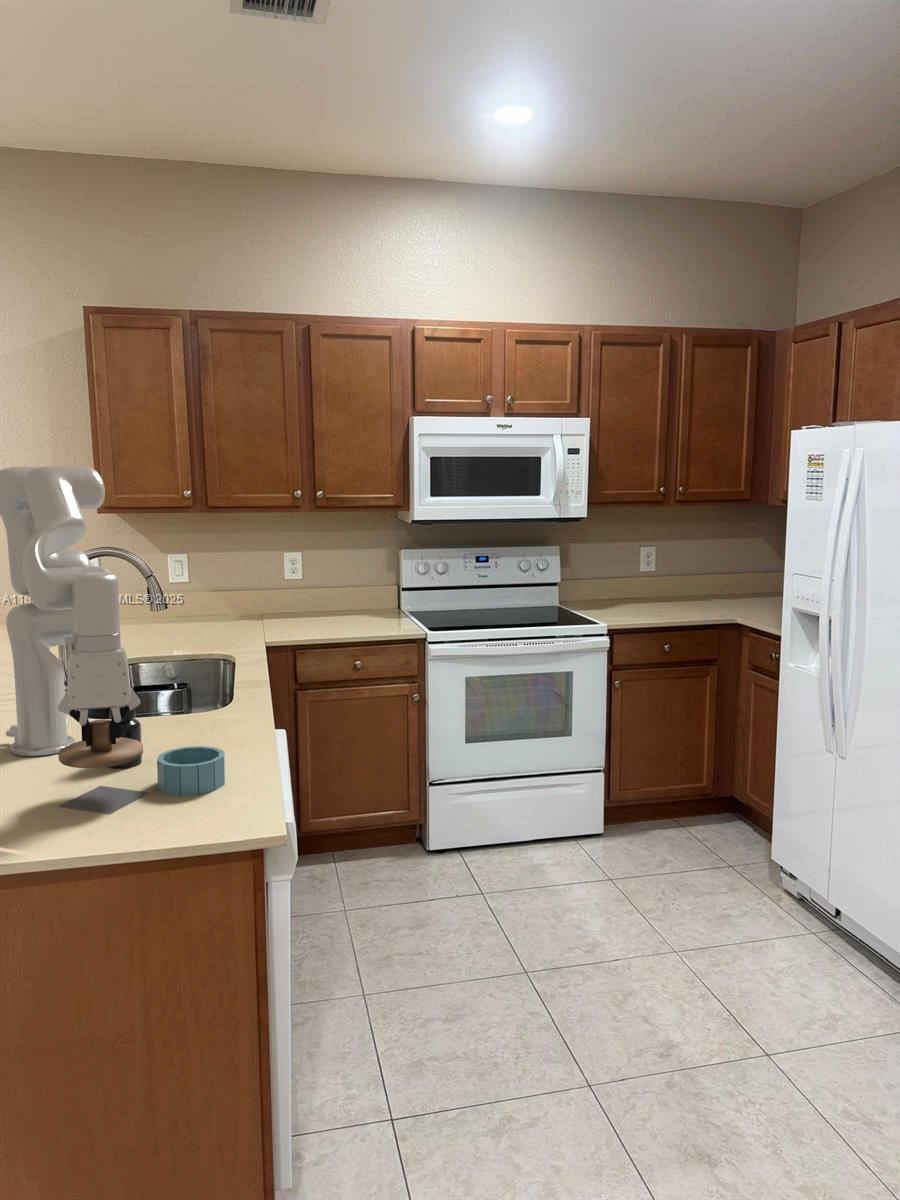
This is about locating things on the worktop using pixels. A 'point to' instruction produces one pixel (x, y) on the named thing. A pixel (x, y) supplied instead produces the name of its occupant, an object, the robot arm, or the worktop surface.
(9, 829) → the worktop surface
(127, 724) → the supplement bottle
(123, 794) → the rubber mat
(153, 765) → the worktop surface
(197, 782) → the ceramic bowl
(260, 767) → the worktop surface
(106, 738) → the walnut lid
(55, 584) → the robot arm
